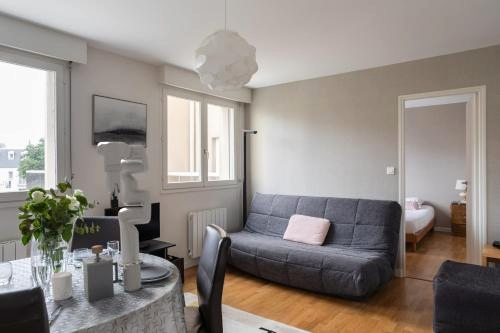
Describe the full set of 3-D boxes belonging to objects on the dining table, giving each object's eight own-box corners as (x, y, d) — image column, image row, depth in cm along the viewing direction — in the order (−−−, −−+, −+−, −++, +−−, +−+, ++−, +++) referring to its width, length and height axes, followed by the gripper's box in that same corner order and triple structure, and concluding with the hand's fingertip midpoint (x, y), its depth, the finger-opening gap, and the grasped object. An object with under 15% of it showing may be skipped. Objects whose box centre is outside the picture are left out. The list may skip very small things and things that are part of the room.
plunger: (91, 279, 145) (90, 246, 145) (102, 277, 148) (101, 244, 147) (93, 282, 141) (92, 248, 141) (104, 280, 144) (103, 246, 144)
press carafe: (83, 294, 146) (82, 258, 146) (115, 287, 154) (114, 252, 153) (88, 302, 137) (86, 264, 137) (121, 294, 145) (120, 258, 145)
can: (144, 288, 151) (143, 262, 151) (128, 293, 146) (127, 266, 146) (136, 284, 156) (135, 259, 156) (120, 289, 151) (119, 263, 151)
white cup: (58, 302, 138) (57, 278, 138) (48, 299, 142) (47, 275, 142) (76, 295, 145) (75, 273, 145) (66, 292, 149) (65, 270, 149)
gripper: (101, 168, 159) (102, 206, 160) (107, 169, 147) (109, 211, 148) (117, 167, 163) (119, 204, 164) (125, 168, 151) (127, 209, 152)
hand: (114, 207), depth 156 cm, fingers closed
